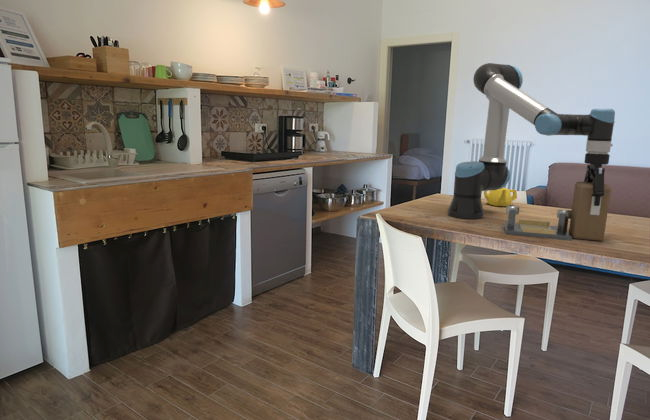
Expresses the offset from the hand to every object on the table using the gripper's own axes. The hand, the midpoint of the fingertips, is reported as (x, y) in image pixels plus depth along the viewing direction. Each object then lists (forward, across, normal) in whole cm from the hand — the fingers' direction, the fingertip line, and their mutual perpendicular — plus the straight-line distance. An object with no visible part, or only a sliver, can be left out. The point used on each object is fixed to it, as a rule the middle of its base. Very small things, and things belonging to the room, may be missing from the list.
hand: (589, 211), depth 167 cm
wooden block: (+10, 0, 0) cm, 10 cm away
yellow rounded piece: (+9, +54, +28) cm, 62 cm away
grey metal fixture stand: (+10, 0, +17) cm, 20 cm away
